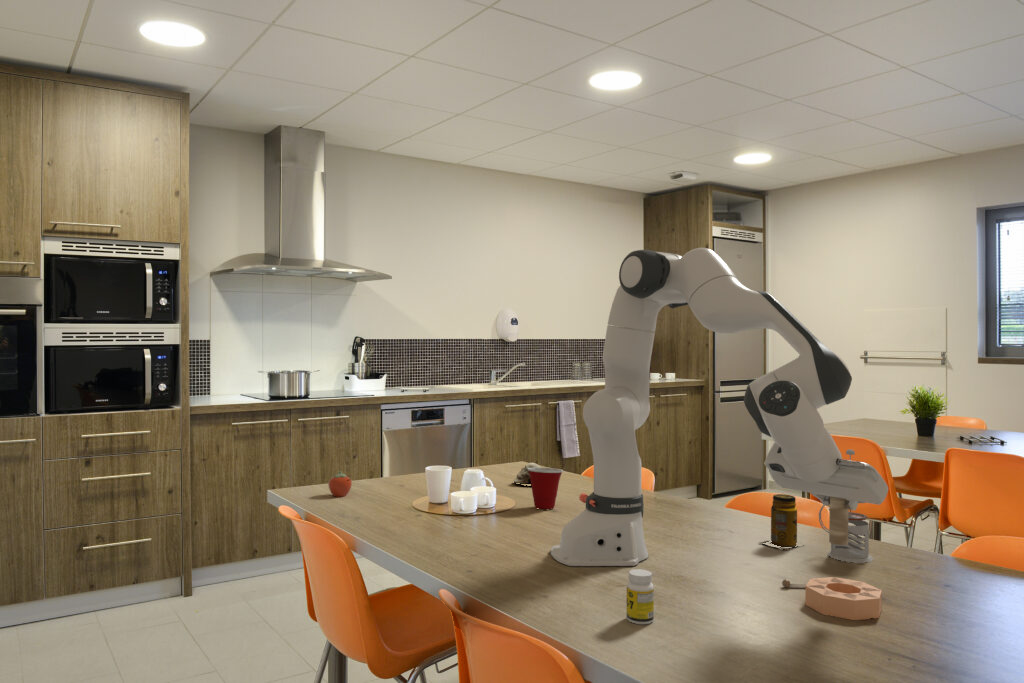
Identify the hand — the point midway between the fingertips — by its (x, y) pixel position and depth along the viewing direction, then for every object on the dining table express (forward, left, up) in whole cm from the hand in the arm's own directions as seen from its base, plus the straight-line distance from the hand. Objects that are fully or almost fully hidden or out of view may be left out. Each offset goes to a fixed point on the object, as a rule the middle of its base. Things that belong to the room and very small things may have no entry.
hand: (840, 504), depth 135 cm
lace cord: (+5, +10, -19) cm, 22 cm away
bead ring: (+1, 0, -19) cm, 19 cm away
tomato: (-91, +122, -19) cm, 154 cm away
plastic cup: (-31, +92, -19) cm, 99 cm away
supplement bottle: (-39, +2, -19) cm, 44 cm away
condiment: (+15, +41, -19) cm, 48 cm away
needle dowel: (-1, 0, -7) cm, 7 cm away
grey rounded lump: (-26, +130, -20) cm, 134 cm away
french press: (+24, +29, -19) cm, 43 cm away
